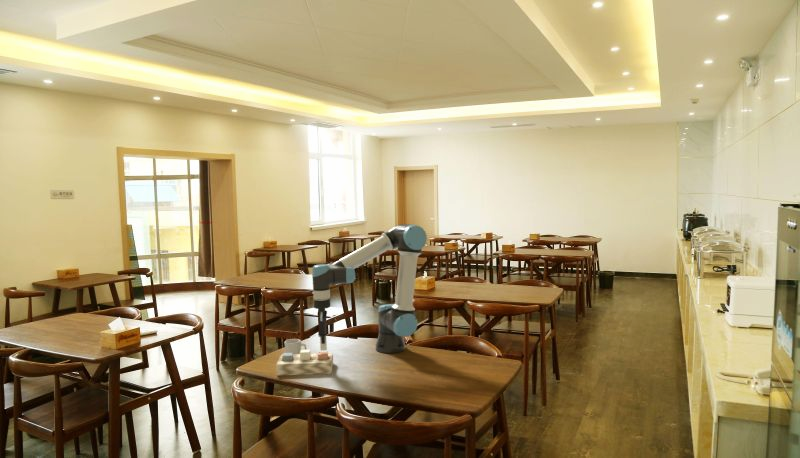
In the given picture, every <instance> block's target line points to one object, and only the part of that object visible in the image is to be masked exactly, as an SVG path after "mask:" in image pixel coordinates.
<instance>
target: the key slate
mask: <svg viewBox="0 0 800 458" xmlns="http://www.w3.org/2000/svg"><path fill="white" fill-rule="evenodd" d="M281 355H282V361H293V353H286V352H283V353H282V354H281Z"/></svg>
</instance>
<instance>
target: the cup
mask: <svg viewBox="0 0 800 458" xmlns="http://www.w3.org/2000/svg"><path fill="white" fill-rule="evenodd" d="M302 346H303V347H304V349H303V350H307V344H305V343H303V342H302V340H301V339H299V338H290V339H286V340H285V341H284V349H285V350H284V351H285V353H293V354H300V351H301V350H302Z"/></svg>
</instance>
